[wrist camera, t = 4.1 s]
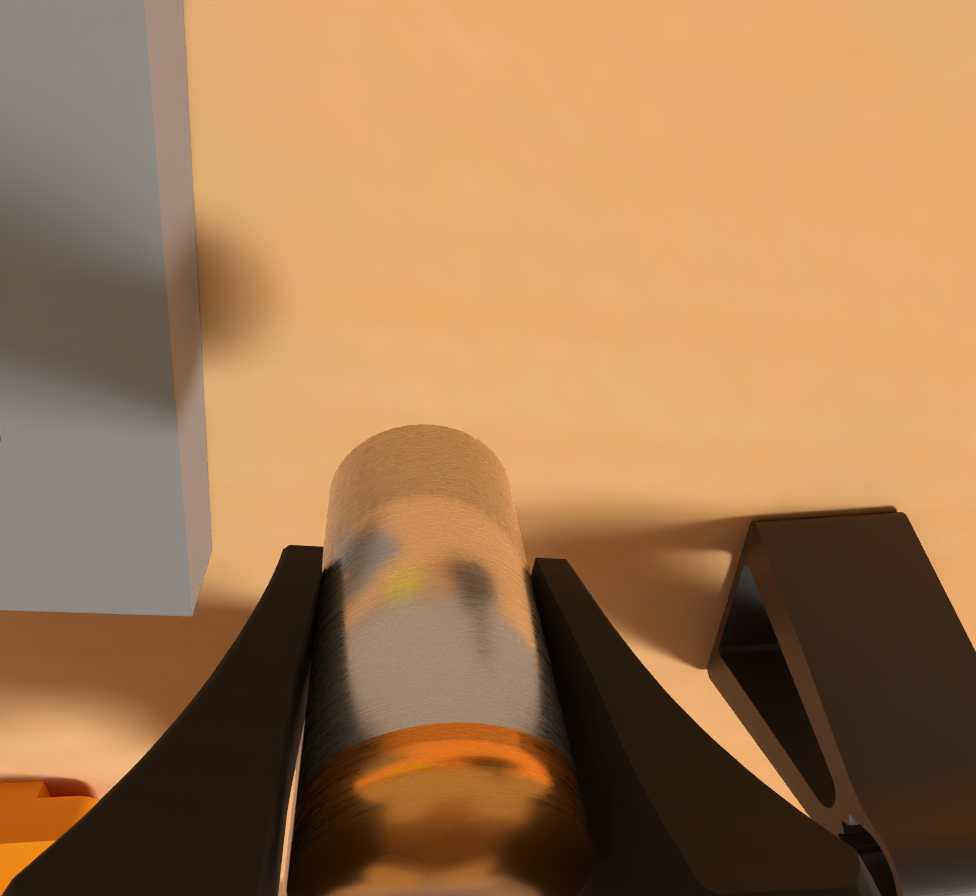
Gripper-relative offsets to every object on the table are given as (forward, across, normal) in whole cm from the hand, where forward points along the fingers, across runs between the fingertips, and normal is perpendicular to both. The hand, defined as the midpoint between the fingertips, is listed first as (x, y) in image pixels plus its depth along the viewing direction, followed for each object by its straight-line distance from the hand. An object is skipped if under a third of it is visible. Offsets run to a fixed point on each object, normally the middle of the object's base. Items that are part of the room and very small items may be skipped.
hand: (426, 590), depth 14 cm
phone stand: (+10, -17, +9) cm, 21 cm away
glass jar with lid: (+3, 0, 0) cm, 3 cm away
